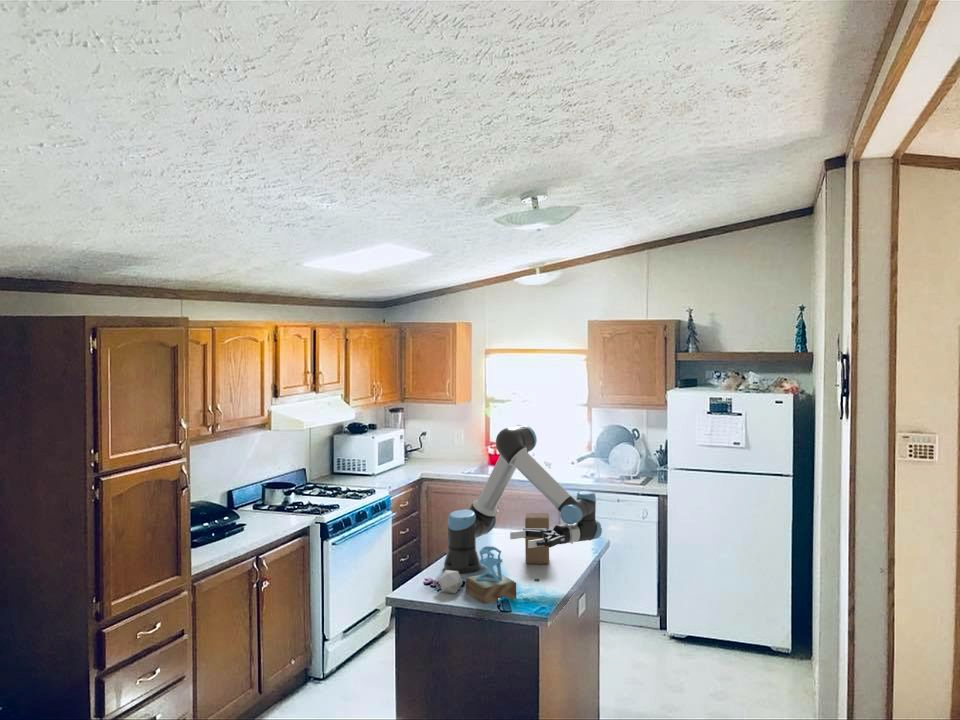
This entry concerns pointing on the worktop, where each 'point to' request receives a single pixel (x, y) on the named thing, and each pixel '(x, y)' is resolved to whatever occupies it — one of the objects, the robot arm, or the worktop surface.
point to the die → (450, 581)
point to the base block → (490, 588)
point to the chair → (490, 564)
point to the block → (537, 553)
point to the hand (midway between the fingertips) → (519, 540)
